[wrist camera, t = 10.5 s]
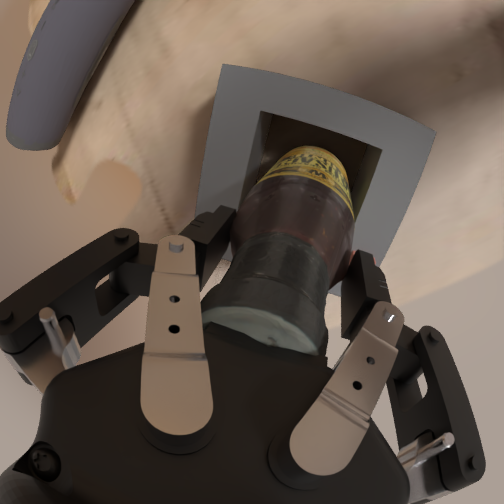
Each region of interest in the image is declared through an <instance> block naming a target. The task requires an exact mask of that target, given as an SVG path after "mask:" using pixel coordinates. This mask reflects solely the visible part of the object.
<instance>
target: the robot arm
mask: <svg viewBox="0 0 504 504" xmlns="http://www.w3.org/2000/svg"><path fill="white" fill-rule="evenodd" d="M235 216H236V209H234V208H230V207H227V206H223V205H220V206H219V207H218V208H217V209H216V210H215V212H214V213H211V212H208V211H207V212H204V213H201V214H199V215H198V216H197V217H196V218H195V219H194V220H193V221H192V222H191V223H190V224H189V225H188V226H187V227H186V228H185V229H184V230H183V231H182V232H181V233H180V234H179V235H169V236H165V237H163V238H162V239H160V241H159V243H158V244H148V243H139V235H138V233H137V232H136V231H134V230H132V229H127V228H119V229H114V230H112V231H110V232H108V233H106V234H104V235H103V236H101V237H99V238H97V239H96V240H94V241H93V242H91V243H89V244H87V245H86V246H84V247H82V248H81V249H79V250H77V251H76V252H74V253H73V254H71V255H69V256H68V257H66V258H65V259H63V260H62V261H60V262H58V263H57V264H55V265H54V266H52V267H50V268H49V269H48V270H46V271H44V272H43V273H41V274H40V275H38V276H37V277H35V278H34V279H32V280H31V281H30V282H28V283H27V284H25V285H24V286H22V287H21V288H20V289H18V290H17V291H15V292H14V293H13V294H11V295H10V296H9V297H7V298H6V299H4V300H3V301H2V302H0V349H1V350H2V352H3V353H4V355H5V356H6V358H7V359H8V361H9V362H10V364H11V365H12V366H13V368H14V369H15V370H16V371H17V372H18V373H19V375H20V376H21V378H22V379H23V380H24V381H25V382H26V383H27V384H30V385H33V386H34V387H35V388H36V389H37V390H38V391H39V392H40V394H42V396H43V398H42V403H41V414H40V422H39V427H38V431H37V434H36V438H35V440H34V442H33V444H32V446H31V447H30V448H29V450H28V451H27V452H26V453H25V454H24V455H23V456H22V457H20V458H19V459H18V460H17V461H16V462H15V463H13V464H12V465H11V466H10V467H8V468H7V469H6V470H5V471H4V472H3V473H2V474H1V476H0V504H424V503H427V502H430V501H433V500H435V499H438V498H441V497H443V496H446V495H448V494H451V493H453V492H455V491H458V490H460V489H462V488H464V487H466V486H469V485H471V484H473V483H475V482H477V481H479V480H480V479H481V478H482V476H483V474H484V472H485V466H486V462H485V457H484V452H483V449H482V444H481V440H480V436H479V432H478V429H477V425H476V422H475V418H474V415H473V412H472V409H471V406H470V403H469V400H468V397H467V394H466V391H465V388H464V385H463V383H462V380H461V377H460V375H459V372H458V370H457V367H456V365H455V362H454V360H453V357H452V355H451V353H450V350H449V348H448V346H447V344H446V341H445V339H444V337H443V336H442V335H441V333H440V332H439V331H438V330H436V329H435V328H433V327H431V326H423V327H422V328H421V329H420V330H419V332H416V331H414V330H413V329H411V328H409V327H407V326H405V325H404V316H403V314H402V312H401V311H400V310H399V309H398V308H397V307H396V306H395V305H393V304H392V303H391V299H390V295H389V290H388V289H387V288H388V286H387V283H386V279H385V275H384V273H383V272H382V271H381V269H380V268H379V267H377V266H375V262H374V258H373V254H371V253H368V252H365V251H362V250H359V249H358V250H357V251H356V252H355V254H354V256H353V258H352V260H351V262H350V264H349V266H348V271H347V274H346V276H345V277H344V279H343V280H342V283H341V337H342V338H345V339H348V340H350V343H349V345H348V346H347V348H346V349H345V351H344V352H343V354H342V355H341V357H340V358H339V360H338V361H337V363H336V364H335V365H334V367H333V368H332V369H331V368H329V367H327V360H328V358H327V357H325V356H321V355H316V356H315V355H310V354H306V353H303V352H299V351H296V350H293V349H287V348H276V347H269V346H266V345H264V344H263V343H261V342H259V341H257V340H255V339H254V338H252V337H250V336H248V335H247V334H245V333H243V332H240V331H237V330H234V329H231V328H229V327H226V326H223V325H220V324H217V323H214V322H212V321H211V322H210V324H209V326H208V328H207V329H205V328H202V317H201V304H200V292H201V291H202V289H203V287H204V286H205V284H206V283H207V281H208V279H209V278H210V276H211V275H212V273H213V271H214V270H215V268H216V267H217V265H218V263H219V262H220V260H221V259H222V257H223V255H224V254H225V252H226V251H227V249H228V246H229V243H230V227H231V224H232V222H233V219H234V218H235ZM108 274H109V279H108V280H107V281H105V282H104V283H103V284H102V285H100V286H99V287H97V288H96V289H95V287H96V285H97V283H98V282H99V281H100V280H101V279H102V278H103V277H105V276H106V275H108ZM139 295H140V296H147V297H149V303H148V312H147V322H146V334H145V342H144V343H140V344H138V345H135V346H132V347H129V348H127V349H124V350H121V351H118V352H116V353H113V354H110V355H107V356H104V357H101V358H98V359H95V360H92V361H89V362H86V363H84V364H81V365H77V366H76V363H77V362H78V360H79V359H80V356H81V347H82V346H84V345H85V344H86V343H87V342H88V341H89V340H90V339H91V338H92V337H94V336H95V335H96V334H97V333H98V332H99V331H100V330H101V329H102V328H103V327H105V326H106V325H107V324H108V323H109V322H110V321H111V320H113V318H115V317H116V316H117V315H118V314H119V313H121V312H122V311H123V310H124V309H125V308H126V307H127V306H128V305H130V304H131V303H132V302H133V301H134V300H135V299H136V298H138V296H139ZM422 373H424V376H425V379H426V382H427V386H428V389H427V393H426V395H425V397H424V398H423V399H422V395H421V392H420V388H419V385H418V381H417V378H418V377H419V376H420V375H421V374H422ZM385 383H386V384H387V388H388V393H389V397H390V402H391V407H392V412H393V417H394V423H395V428H396V434H397V440H398V446H399V453H398V455H397V457H396V455H395V454H394V452H393V451H392V449H391V448H390V446H389V444H388V443H387V441H386V440H385V438H384V437H383V435H382V433H381V432H380V431H379V429H378V427H377V426H376V424H375V423H374V421H373V420H372V418H371V417H370V416H371V414H372V411H373V410H374V408H375V405H376V404H377V401H378V399H379V397H380V395H381V393H382V390H383V388H384V386H385Z"/></svg>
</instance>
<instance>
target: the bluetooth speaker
mask: <svg viewBox="0 0 504 504" xmlns="http://www.w3.org/2000/svg"><path fill="white" fill-rule="evenodd" d="M134 1H135V0H51V1H50V2H49V4H48V6H47V8H46V9H45V11H44V13H43V15H42V17H41V19H40V21H39V23H38V25H37V27H36V29H35V31H34V33H33V35H32V37H31V40H30V42H29V44H28V47H27V49H26V52H25V55H24V58H23V60H22V63H21V66H20V69H19V72H18V75H17V78H16V82H15V86H14V89H13V94H12V98H11V102H10V107H9V111H8V118H7V125H6V137H7V140H8V141H9V143H10V144H12V145H13V146H14V147H16V148H18V149H22V150H33V151H35V150H36V151H38V150H48V149H51V148H53V147H55V146H56V145H57V144H58V143H59V142H60V140H61V138H62V136H63V134H64V132H65V130H66V128H67V126H68V124H69V121H70V119H71V117H72V114H73V112H74V110H75V108H76V105H77V104H78V102H79V100H80V98H81V95H82V93H83V91H84V89H85V87H86V85H87V83H88V81H89V80H90V78H91V77H92V75H93V73H94V72H95V70H96V68H97V66H98V64H99V62H100V61H101V59H102V57H103V55H104V53H105V51H106V49H107V48H108V46H109V44H110V43H111V41H112V39H113V37H114V35H115V34H116V32H117V30H118V28H119V26H120V24H121V22H122V20H123V19H124V17H125V16H126V14H127V12H128V10H129V9H130V7H131V6H132V4H133V3H134Z"/></svg>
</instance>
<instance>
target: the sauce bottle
mask: <svg viewBox="0 0 504 504" xmlns="http://www.w3.org/2000/svg"><path fill="white" fill-rule="evenodd" d="M354 230H355V223H354V214H353V209H352V200H351V196H350V190H349V184H348V179H347V174H346V171H345V169H344V167H343V165H342V164H341V162H340V161H339V160H338V159H337V158H336V156H334V155H333V154H332V153H331V152H329V151H327V150H326V149H323V148H320V147H316V146H301V147H297V148H294V149H292V150H290V151H289V152H287V153H286V154H284V155H283V156H282V157H281V158H280V159H279V161H278V162H277V163H276V164H275V165H274V166H273V167H272V168H271V169H270V170H269V171H268V172H267V173H266V174H265V176H264V177H263V178H262V179H261V180H260V181H259V182H258V183H257V184H256V185H255V186H254V187H253V188H252V189H251V190H250V192H249V193H248V195H247V197H246V198H245V200H244V201H243V203H242V204H241V206H240V207H239V209H238V211H237V212H236V216H235V218H234V219H233V222H232V224H231V227H230V244H231V252H232V256H233V259H232V262H231V265H230V268H229V269H228V271H227V272H226V274H225V275H224V277H223V279H222V280H221V282H220V283H219V284H217V285H216V286H214V287H213V288H212V289H210V291H209V292H208V293H207V294H206V295H205V297H204V298H203V299H202V301H201V302H200V304H201V317H202V328H205V329H207V328H208V326H209V324H210V322H211V321H212V322H214V323H217V324H220V325H223V326H226V327H229V328H231V329H234V330H237V331H240V332H243V333H245V334H247V335H248V336H250V337H252V338H254V339H255V340H257V341H259V342H261V343H263V344H264V345H266V346H269V347H276V348H287V349H293V350H296V351H299V352H303V353H306V354H310V355H315V356H316V355H321V356H325V355H326V349H327V344H328V329H327V327H326V324H325V319H324V310H325V305H326V297H327V294H328V291H329V290H330V289H331V288H333V287H334V286H335V285H336V284H337V283H339V282H340V281H342V280H343V279H344V277H345V276H346V274H347V271H348V266H349V262H350V256H351V249H352V243H353V236H354Z"/></svg>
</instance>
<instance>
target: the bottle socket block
mask: <svg viewBox="0 0 504 504" xmlns="http://www.w3.org/2000/svg"><path fill="white" fill-rule="evenodd" d="M273 114H277V115H281V116H284V117H288V118H292V119H295V120H299V121H302V122H306V123H309V124H312V125H316V126H319V127H322V128H325V129H328V130H331V131H334V132H337V133H340V134H343V135H346V136H349V137H351V138H354V139H357V140H360V141H362V142H365V143H367V144H368V145H367V148H366V151H365V154H364V157H363V160H362V163H361V166H360V169H359V172H358V174H357V177H356V180H355V183H354V186H353V188H352V191H351V194H350V196H351V200H352V209H353V214H354V223H355V230H354V236H353V243H352V249H351V256H350V262H351V260H352V258H353V256H354V254H355V252H356V251H357V250H358V249H359V250H362V251H365V252H368V253H371V254H373V258H374V262H375V266H377V267H379V266H380V264H381V263H382V261H383V259H384V257H385V255H386V253H387V251H388V249H389V247H390V245H391V243H392V241H393V239H394V237H395V235H396V232H397V230H398V228H399V226H400V224H401V222H402V220H403V217H404V215H405V213H406V211H407V208H408V206H409V204H410V201H411V199H412V197H413V194H414V192H415V189H416V187H417V185H418V182H419V180H420V177H421V174H422V172H423V169H424V167H425V164H426V161H427V158H428V156H429V153H430V150H431V147H432V144H433V141H434V138H435V135H436V131H434V130H432V129H431V128H429V127H427V126H425V125H423V124H421V123H419V122H417V121H415V120H412V119H410V118H408V117H406V116H404V115H402V114H399V113H397V112H395V111H393V110H390V109H388V108H386V107H383V106H381V105H378V104H376V103H373V102H371V101H368V100H365V99H363V98H360V97H357V96H355V95H352V94H349V93H346V92H343V91H340V90H337V89H334V88H331V87H327V86H324V85H321V84H317V83H314V82H310V81H307V80H303V79H299V78H295V77H291V76H287V75H283V74H278V73H274V72H269V71H264V70H259V69H253V68H248V67H242V66H235V65H228V64H222V68H221V73H220V77H219V82H218V86H217V91H216V96H215V100H214V105H213V110H212V115H211V120H210V125H209V131H208V136H207V142H206V147H205V153H204V159H203V165H202V171H201V177H200V184H199V190H198V197H197V204H196V211H195V218H196V217H197V216H198V215H199V214H201V213H204V212H207V211H208V212H211V213H214V212H215V210H216V209H217V208H218V207H219V206H220V205H223V206H227V207H230V208H234V209H236V212H237V211H238V209H239V207H240V206H241V204H242V203H243V201H244V200H245V198H246V197H247V195H248V193H249V192H250V190H251V189H252V188H253V187H254V186H255V185H256V180H257V176H258V172H259V168H260V164H261V160H262V156H263V152H264V148H265V144H266V140H267V135H268V131H269V127H270V123H271V119H272V115H273ZM222 259H224V260H227V261H230V262H232V259H233V256H232V252H231V244H230V243H229V246H228V249H227V251H226V252H225V254H224V255H223V257H222ZM350 262H349V264H350ZM341 283H342V281H340V282H339V283H337V284H336V285H335V286H334V287H333V288H331V289H330V290H329V291H328V293H330V294H333V295H337V296H340V297H341Z"/></svg>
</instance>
